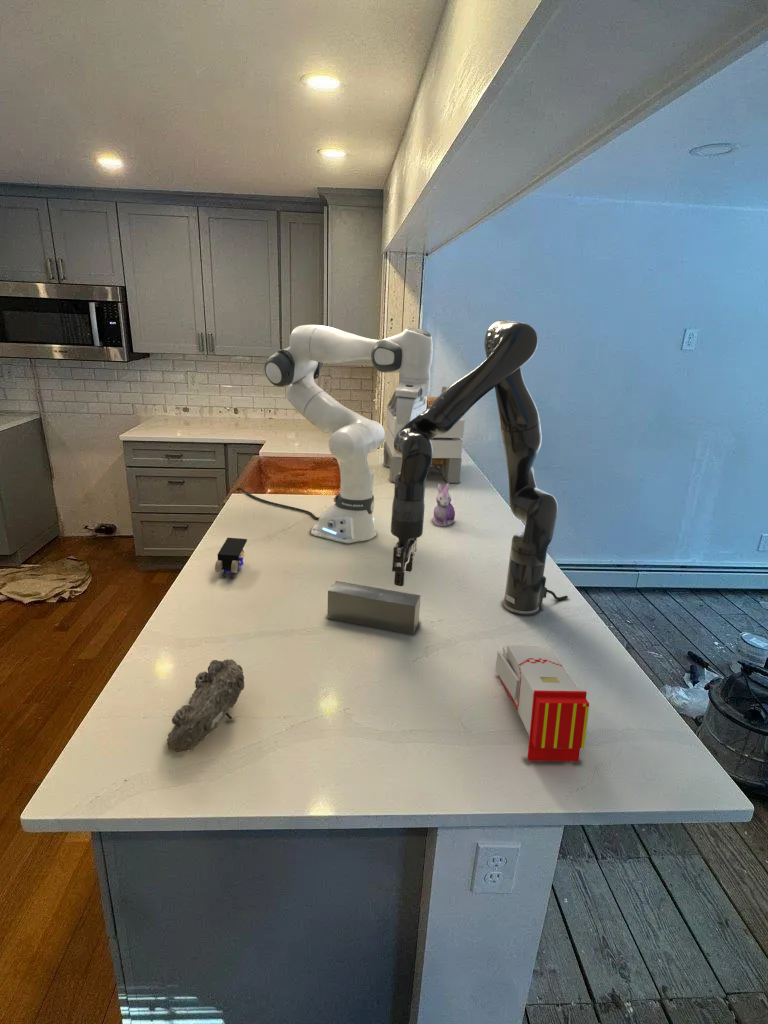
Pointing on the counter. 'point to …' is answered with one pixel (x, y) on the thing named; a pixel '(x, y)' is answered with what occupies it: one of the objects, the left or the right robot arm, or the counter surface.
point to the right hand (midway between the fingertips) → (403, 577)
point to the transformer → (443, 445)
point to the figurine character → (230, 556)
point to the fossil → (206, 705)
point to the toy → (545, 701)
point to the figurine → (443, 507)
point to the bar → (374, 607)
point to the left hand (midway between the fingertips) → (410, 435)
